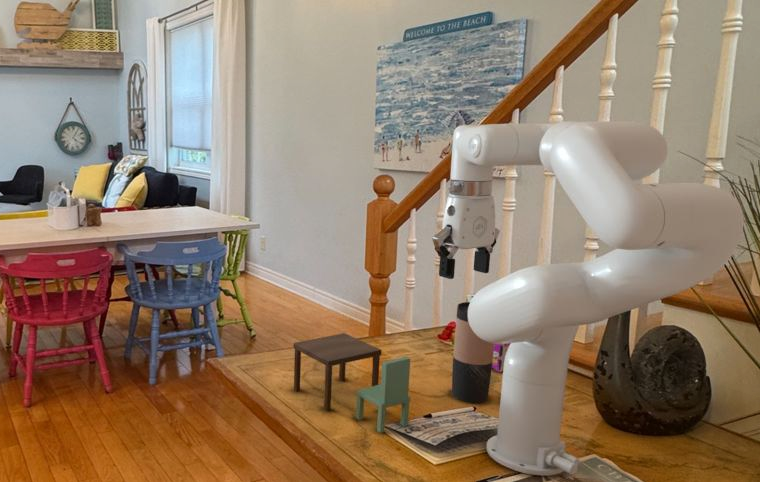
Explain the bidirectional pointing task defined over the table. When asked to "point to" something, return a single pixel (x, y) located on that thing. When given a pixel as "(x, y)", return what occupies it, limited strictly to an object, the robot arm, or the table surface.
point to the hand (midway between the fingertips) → (463, 274)
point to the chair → (388, 391)
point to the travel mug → (470, 361)
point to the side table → (335, 358)
